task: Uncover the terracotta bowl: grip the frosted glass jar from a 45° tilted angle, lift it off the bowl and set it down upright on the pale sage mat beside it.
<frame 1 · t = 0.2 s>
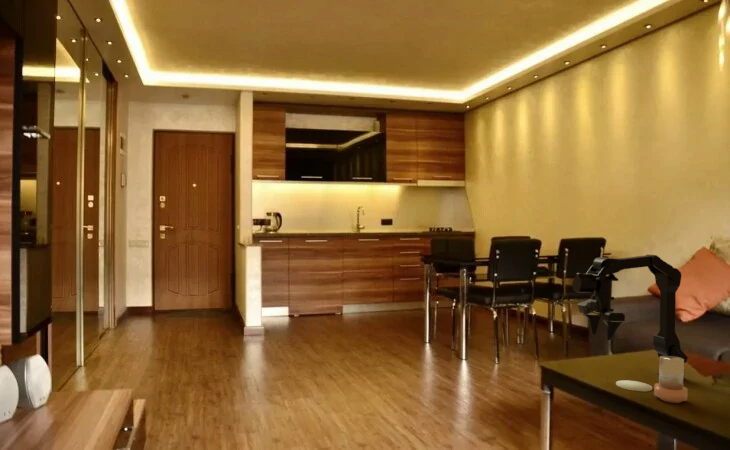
hand: (600, 337, 195), 14 cm above the table, tool pointing down, fingers open, 9 cm apart
frosted glass jar: (670, 387, 172), point 4 cm above the table, touching bowl
bowl: (670, 399, 172), on the table
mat: (633, 386, 185), on the table
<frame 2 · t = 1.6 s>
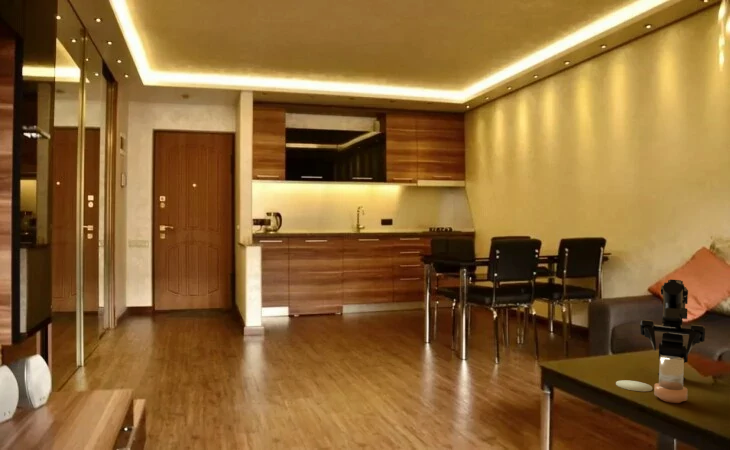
hand: (670, 351, 179), 13 cm above the table, tool tilted 45°, fingers open, 9 cm apart
nothing on the table moved.
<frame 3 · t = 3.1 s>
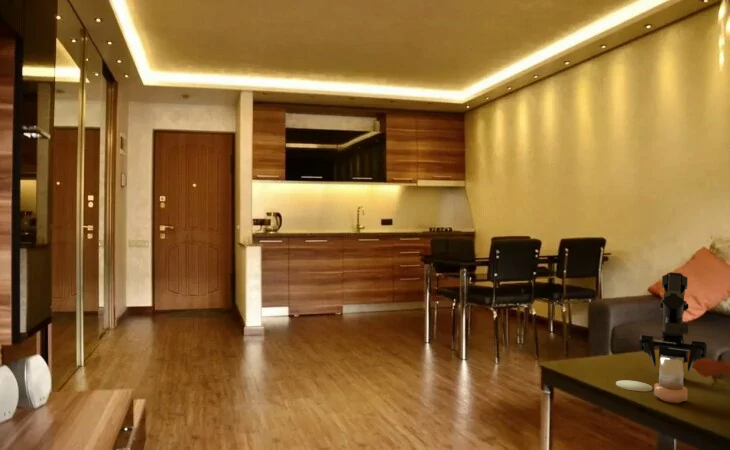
hand: (671, 368, 173), 10 cm above the table, tool tilted 45°, fingers open, 9 cm apart
nothing on the table moved.
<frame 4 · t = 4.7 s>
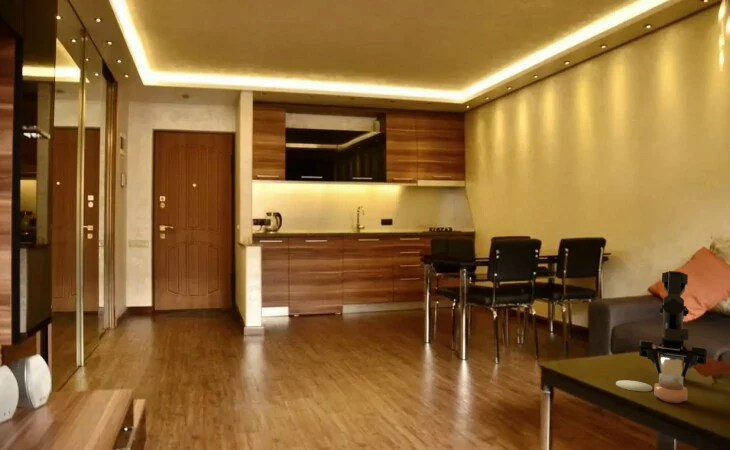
hand: (671, 375, 171), 8 cm above the table, tool tilted 45°, fingers closed on frosted glass jar, 7 cm apart
frosted glass jar: (670, 387, 172), point 4 cm above the table, touching bowl, gripper
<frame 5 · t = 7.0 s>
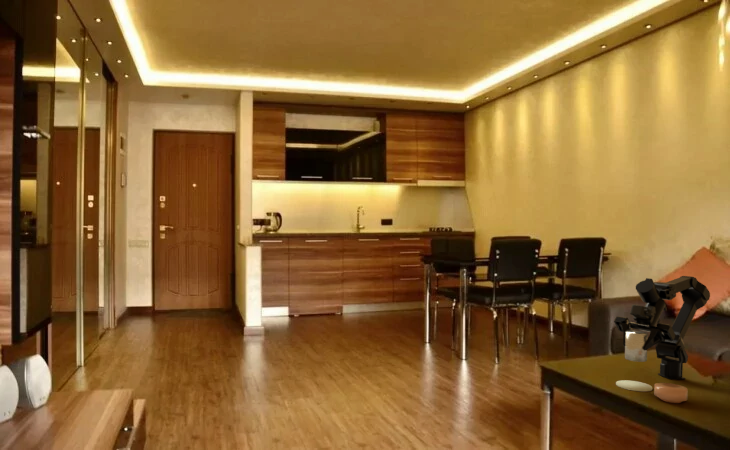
hand: (633, 347, 184), 13 cm above the table, tool tilted 45°, fingers closed on frosted glass jar, 7 cm apart
frosted glass jar: (635, 359, 185), point 9 cm above the table, touching gripper
when the fingers open (6 cm above the table, at t = 9.3 s): frosted glass jar drops 2 cm, resting on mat.
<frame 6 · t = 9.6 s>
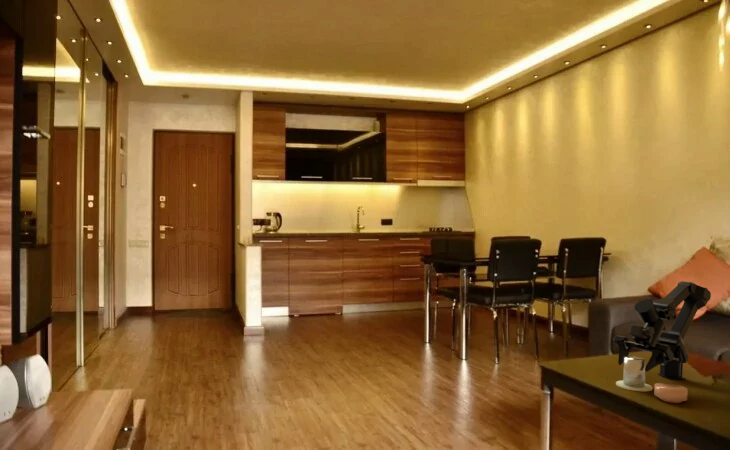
hand: (632, 367, 185), 7 cm above the table, tool tilted 45°, fingers open, 9 cm apart
frosted glass jar: (633, 384, 185), point 1 cm above the table, touching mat
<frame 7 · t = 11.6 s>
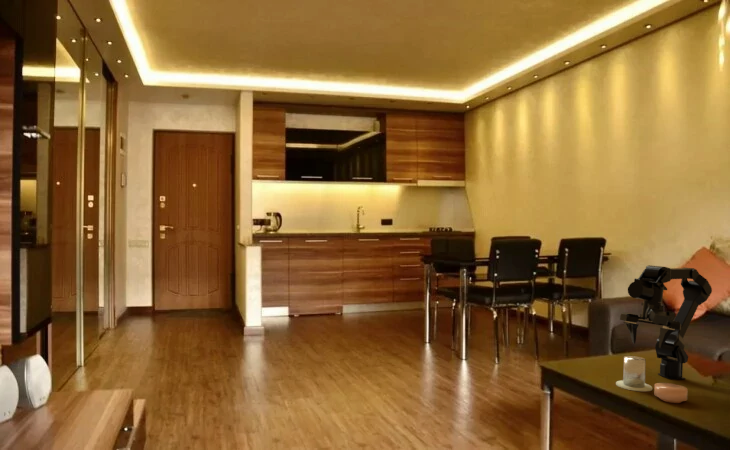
hand: (647, 345, 192), 12 cm above the table, tool pointing down, fingers open, 9 cm apart
nothing on the table moved.
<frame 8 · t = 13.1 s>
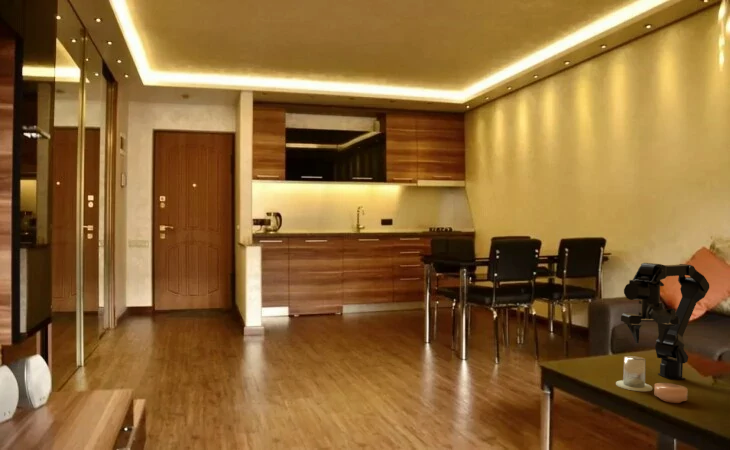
hand: (649, 343, 193), 13 cm above the table, tool pointing down, fingers open, 9 cm apart
nothing on the table moved.
at the end: frosted glass jar 0.0 cm off-centre on the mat, point 0.5 cm above the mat's base; frosted glass jar tilted 0°; the gripper is holding nothing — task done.
